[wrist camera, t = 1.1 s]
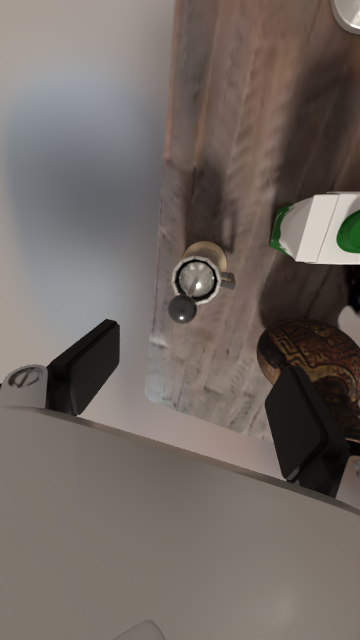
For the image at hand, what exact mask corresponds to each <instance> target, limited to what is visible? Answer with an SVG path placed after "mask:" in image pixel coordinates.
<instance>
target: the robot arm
mask: <svg viewBox="0 0 360 640" xmlns="http://www.w3.org/2000/svg"><path fill="white" fill-rule="evenodd" d="M330 3H331V7H332V11H333V15H334V17H335V19H336V21H337V23H338V24H339V25H340V26H341V27H342V28H343V29H344V30H346V31H348V32H350V33H354V34H360V0H330ZM119 337H120V326H119V325H118V324H117V322H116V321H113V320H109V319H106V320H104V321H103V322H102V323H100V324H99V325H98V326H97V327H95V328H94V329H93V330H92V331H90V332H89V333H88V334H86V335H85V336H84V337H82V338H81V339H80V340H79V341H77V342H76V343H75V344H73V345H72V346H71V347H70V348H68V349H67V350H66V351H65V352H63V353H62V354H61V355H59V356H58V357H57V358H56V359H54V360H53V361H52V362H51V363H50V364H49V365H48V366H47V367H44V366H42V365H27V366H24V367H20V368H18V369H16V370H14V371H12V372H11V373H9V374H8V375H7V376H6V377H5V379H4V381H3V383H2V384H0V640H360V456H352V455H351V453H350V452H349V449H350V448H351V447H350V446H349V444H348V442H347V441H346V439H345V437H344V436H343V434H342V432H341V431H340V429H339V427H338V426H337V424H336V422H335V421H334V419H333V417H332V416H331V414H330V412H329V411H328V409H327V407H326V406H325V404H324V402H323V401H322V399H321V397H320V396H319V394H318V392H317V391H316V389H315V387H314V386H313V384H312V382H311V380H310V379H309V377H308V375H307V374H306V372H305V370H304V369H303V368H302V367H298V366H294V365H288V366H285V367H284V368H283V370H282V372H281V373H280V375H279V377H278V379H277V380H276V382H275V384H274V386H273V388H272V389H271V391H270V393H269V395H268V396H267V398H266V400H265V409H266V413H267V417H268V421H269V425H270V429H271V433H272V437H273V441H274V445H275V449H276V453H277V457H278V461H279V465H280V469H281V473H282V476H283V477H284V478H285V479H286V480H287V482H286V481H283V480H280V479H277V478H274V477H271V476H268V475H265V474H261V473H258V472H255V471H252V470H249V469H246V468H242V467H239V466H236V465H233V464H230V463H227V462H223V461H220V460H217V459H214V458H211V457H208V456H204V455H201V454H198V453H195V452H191V451H188V450H185V449H182V448H179V447H175V446H172V445H169V444H165V443H162V442H159V441H156V440H153V439H150V438H146V437H143V436H140V435H136V434H133V433H130V432H126V431H123V430H120V429H117V428H113V427H110V426H107V425H104V424H100V423H97V422H94V421H90V420H87V419H83V418H79V417H76V416H77V415H80V414H81V413H82V412H83V411H84V410H85V408H86V407H87V406H88V404H89V403H90V402H91V400H92V399H93V398H94V396H95V395H96V394H97V392H98V391H99V390H100V388H101V387H102V386H103V384H104V383H105V382H106V381H107V379H108V378H109V376H110V375H111V374H112V373H113V371H114V370H115V369H116V367H117V366H118V364H119V353H120V350H119V349H120V346H119V345H120V338H119Z"/></svg>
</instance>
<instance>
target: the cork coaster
mask: <svg viewBox="0 0 360 640" xmlns="http://www.w3.org/2000/svg"><path fill="white" fill-rule="evenodd" d="M201 247H206V248H210V249H212V250H214V251H215V252H216V253H217V254H218V255H219V258H220V261H221V265H222V268H221V271H223V272H225V271H226V265H227V263H226V257H225V254H224V252H223V251H222V249H221V248H220V247H219V246H218V245H216V244H214V243H212V242H209V241H200V242H197V243H194V244H193V245H191V246H190V247H189V248H188V249H187V250H186V251H185V253H184V254H183V257H182V259H183V258H185V257H186V256H187V255H188V254H189V253H190V252H192V251H193V250H195V249H198V248H201ZM221 279H222V277H221Z"/></svg>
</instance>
